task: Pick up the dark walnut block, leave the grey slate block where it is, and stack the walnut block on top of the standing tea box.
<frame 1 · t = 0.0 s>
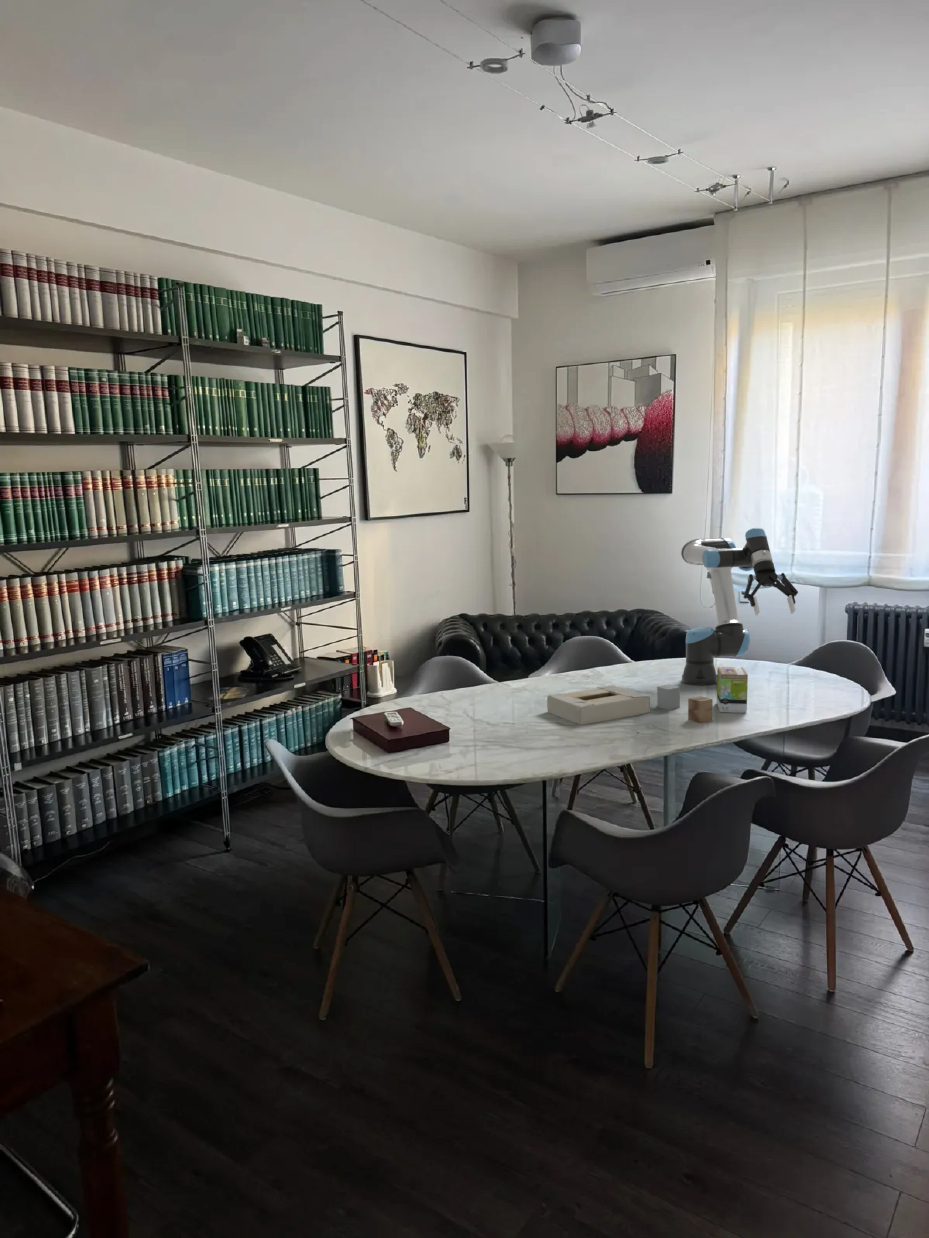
hand: (775, 612, 320), 36 cm above the table, tool tilted 35°, fingers open, 13 cm apart
walnut block: (700, 720, 310), on the table
tea box: (731, 708, 326), on the table
box: (598, 713, 327), on the table
slate block: (668, 707, 330), on the table
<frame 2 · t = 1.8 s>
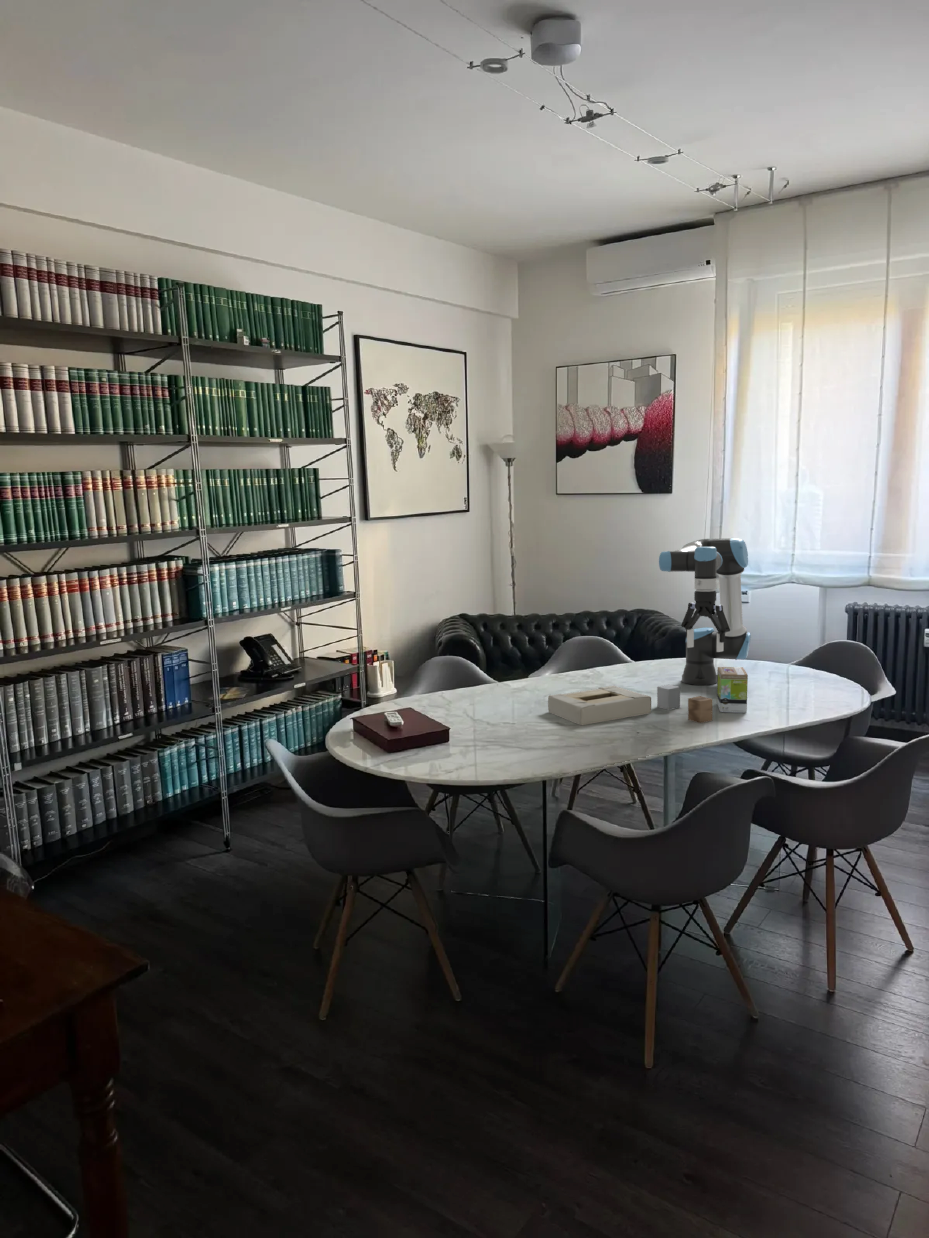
hand: (704, 649, 307), 26 cm above the table, tool pointing down, fingers open, 13 cm apart
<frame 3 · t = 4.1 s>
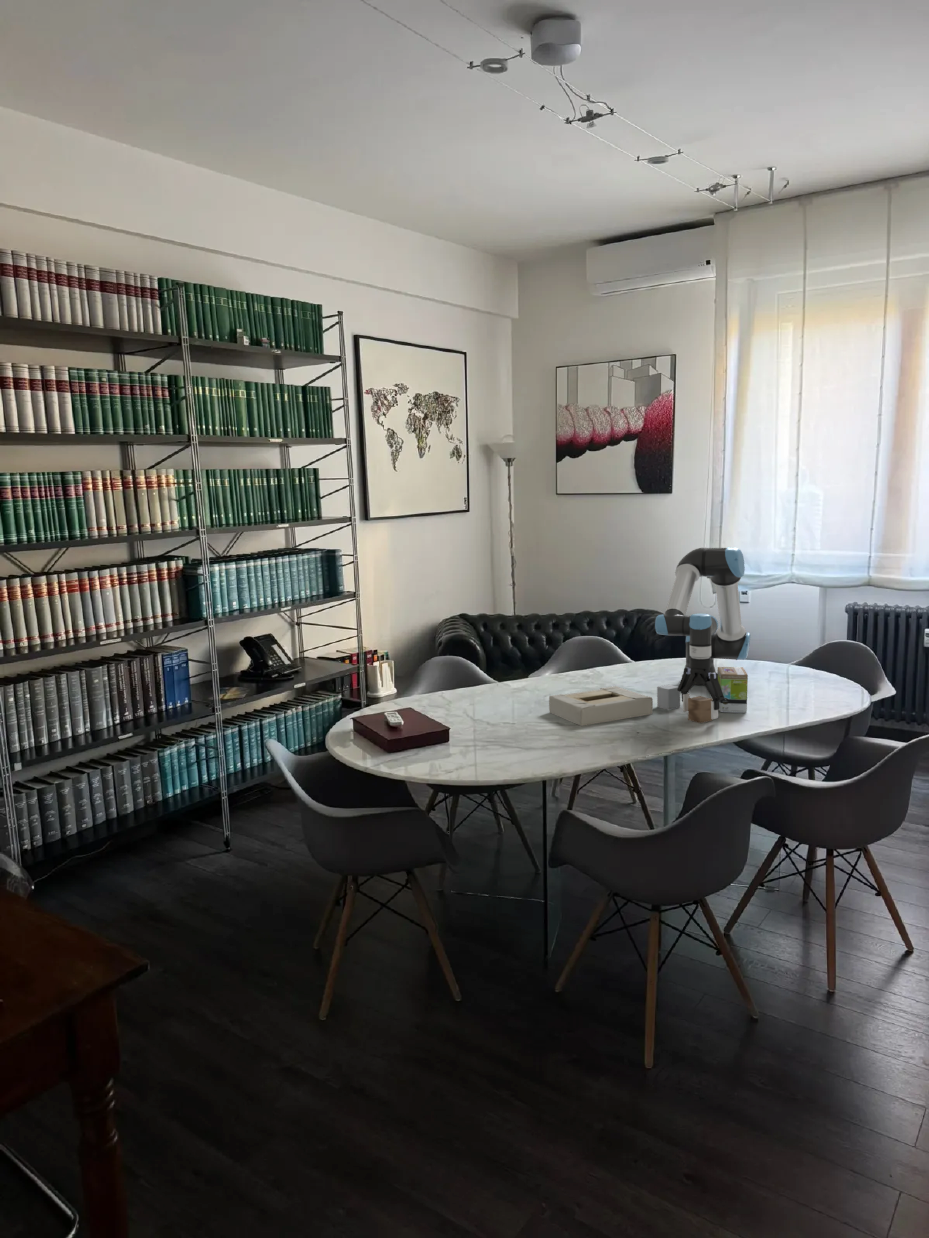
hand: (700, 714, 310), 2 cm above the table, tool pointing down, fingers open, 13 cm apart
box: (600, 715, 325), on the table
everything else where it was.
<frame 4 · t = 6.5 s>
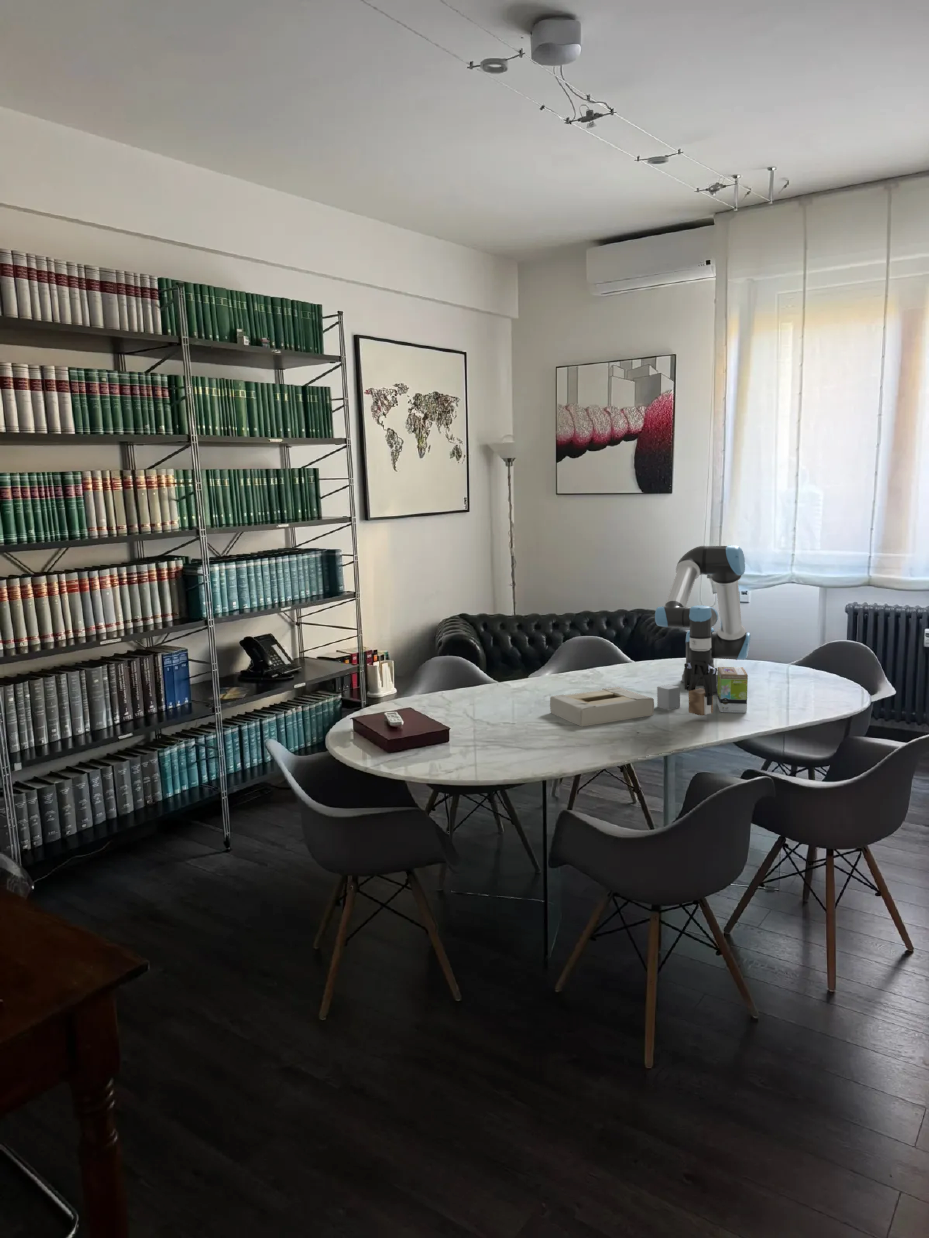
hand: (700, 711, 310), 3 cm above the table, tool pointing down, fingers closed on walnut block, 6 cm apart
walnut block: (701, 712, 310), point 3 cm above the table, touching gripper
box: (601, 715, 324), on the table
everything else where it was.
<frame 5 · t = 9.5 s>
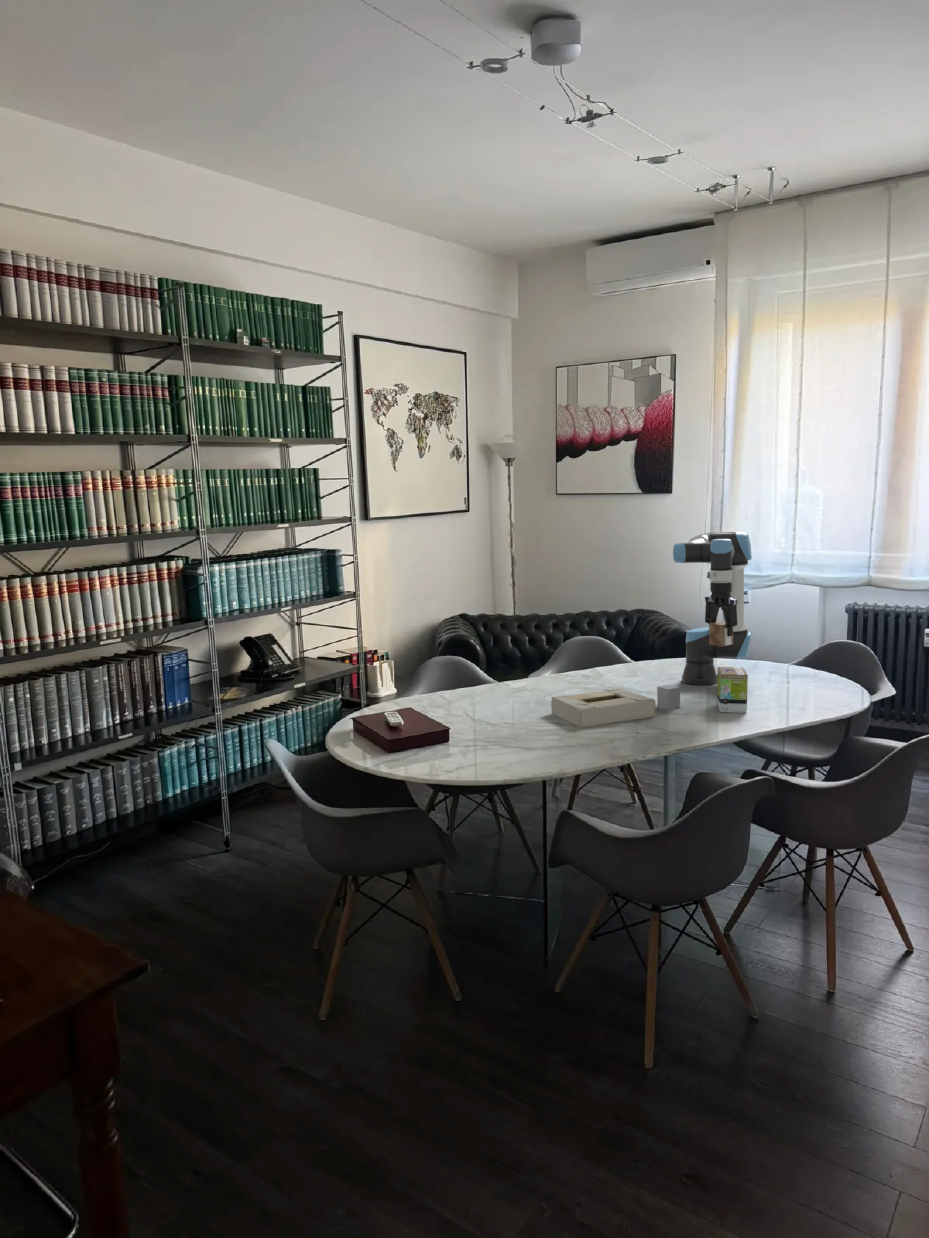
hand: (720, 643, 317), 26 cm above the table, tool pointing down, fingers closed on walnut block, 6 cm apart
walnut block: (721, 644, 317), point 26 cm above the table, touching gripper
box: (602, 716, 322), on the table
everything else where it was.
when the fingers open (16 cm above the table, at t = 12.9 s): walnut block stays where it is, resting on tea box.
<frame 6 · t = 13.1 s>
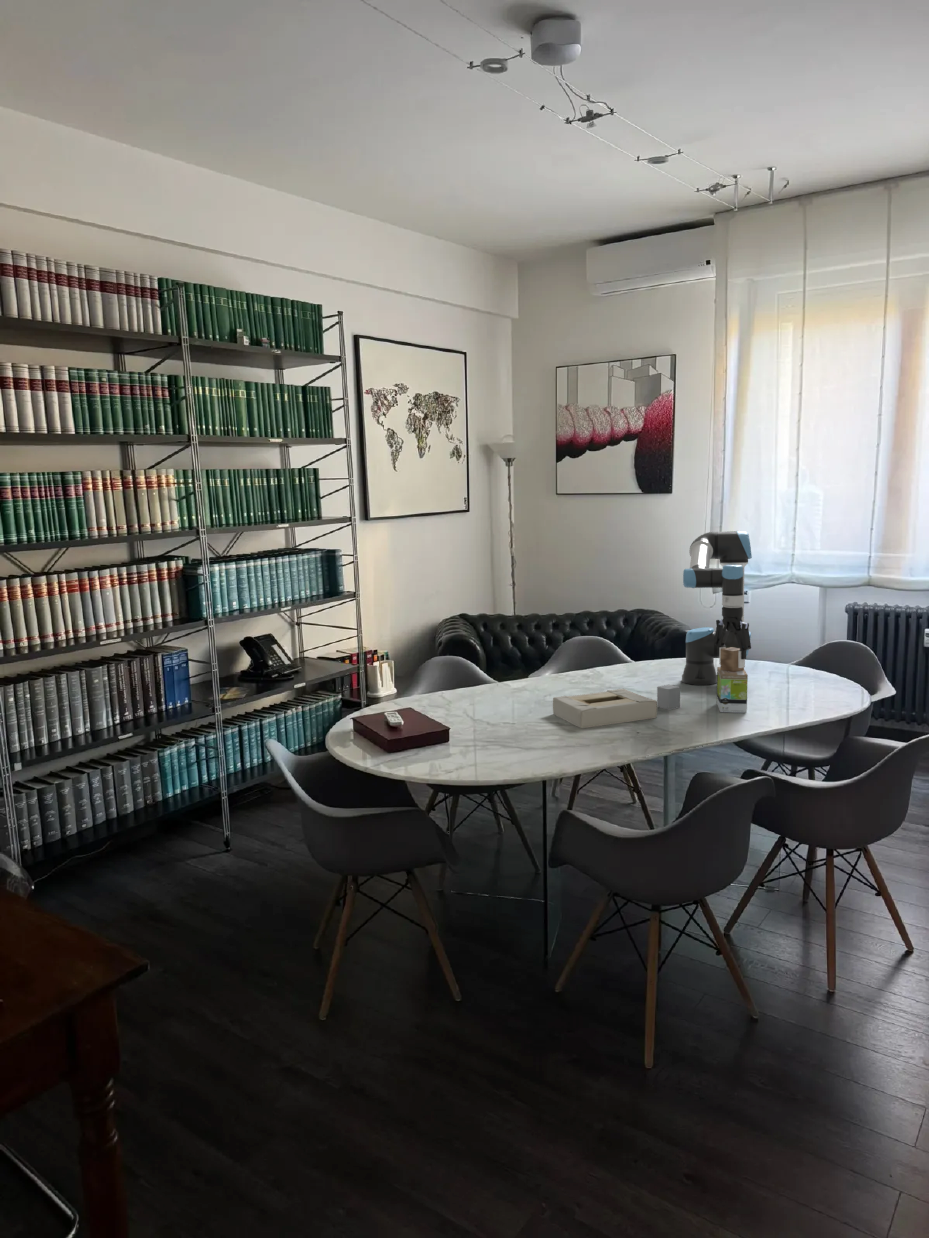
hand: (732, 665, 323), 16 cm above the table, tool pointing down, fingers open, 8 cm apart
walnut block: (732, 669, 324), point 15 cm above the table, touching tea box
tea box: (731, 708, 326), on the table, touching walnut block
box: (604, 717, 321), on the table
everything else where it was.
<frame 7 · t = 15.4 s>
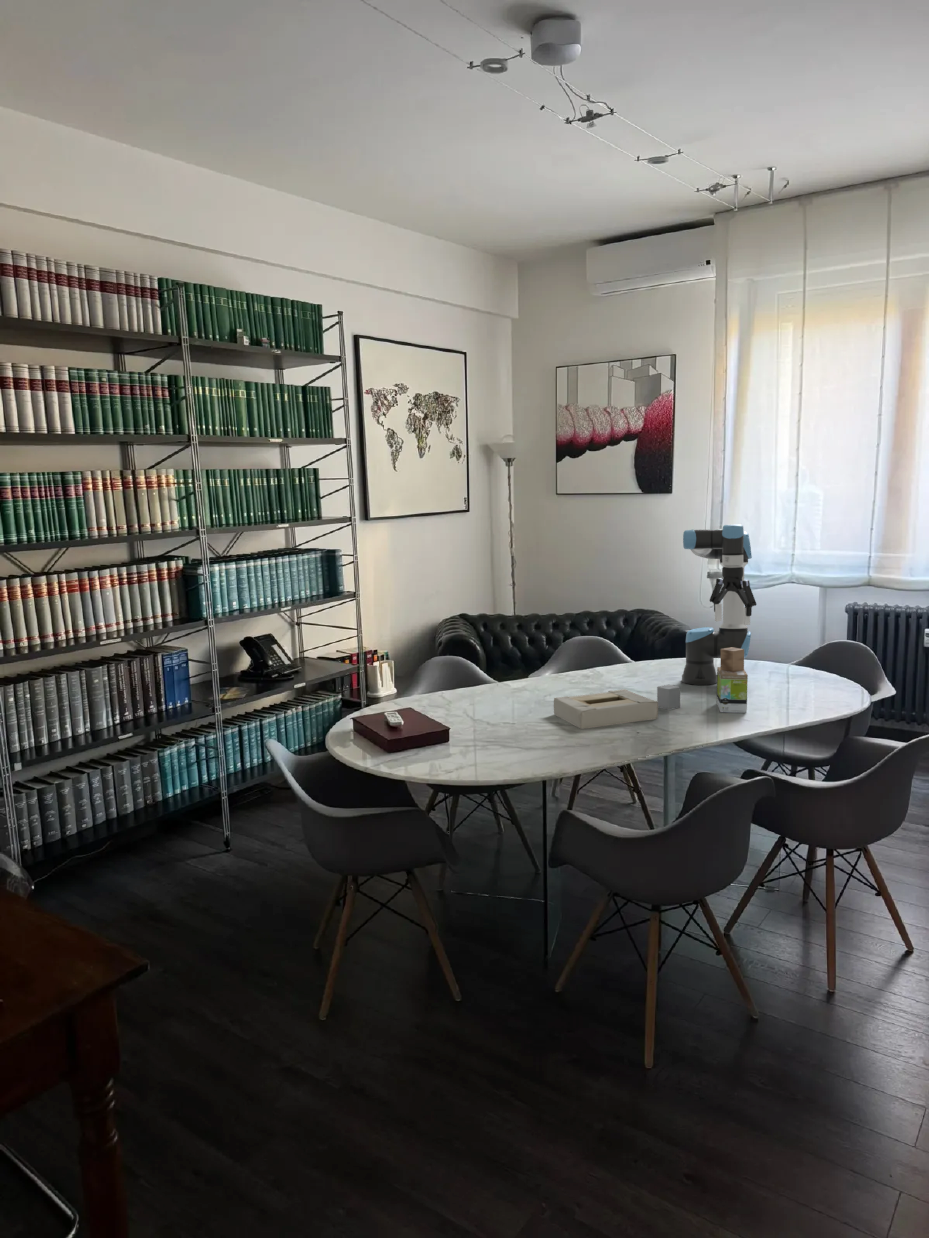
hand: (732, 622, 321), 33 cm above the table, tool pointing down, fingers open, 13 cm apart
box: (604, 718, 320), on the table
everything else where it was.
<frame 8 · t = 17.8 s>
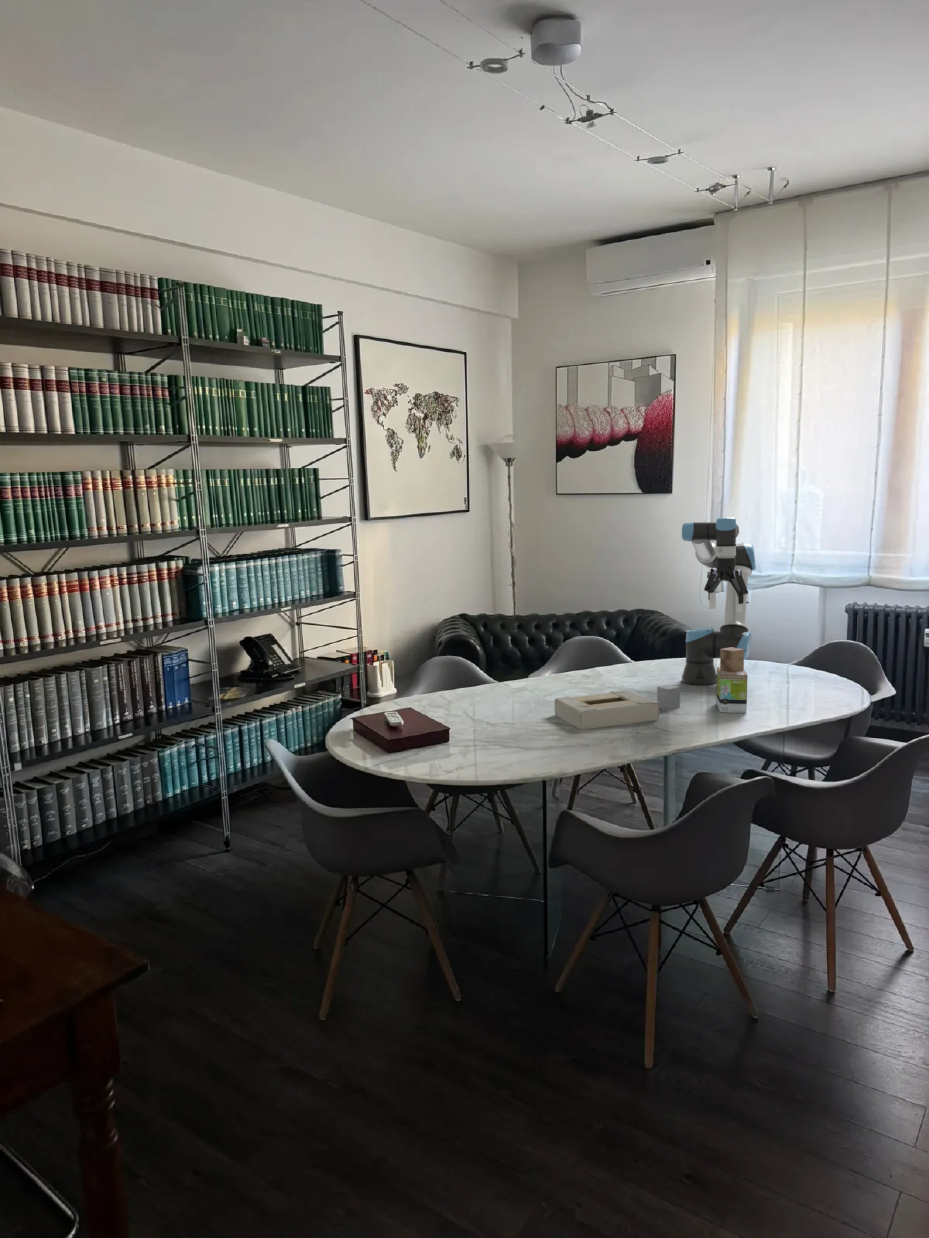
hand: (725, 610, 340), 35 cm above the table, tool pointing down, fingers open, 13 cm apart
box: (605, 719, 319), on the table
everything else where it was.
at the end: walnut block inside the target area on the tea box (0.2 cm from its centre), point 15.0 cm above the tea box's base; walnut block tilted 0°; the gripper is holding nothing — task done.
